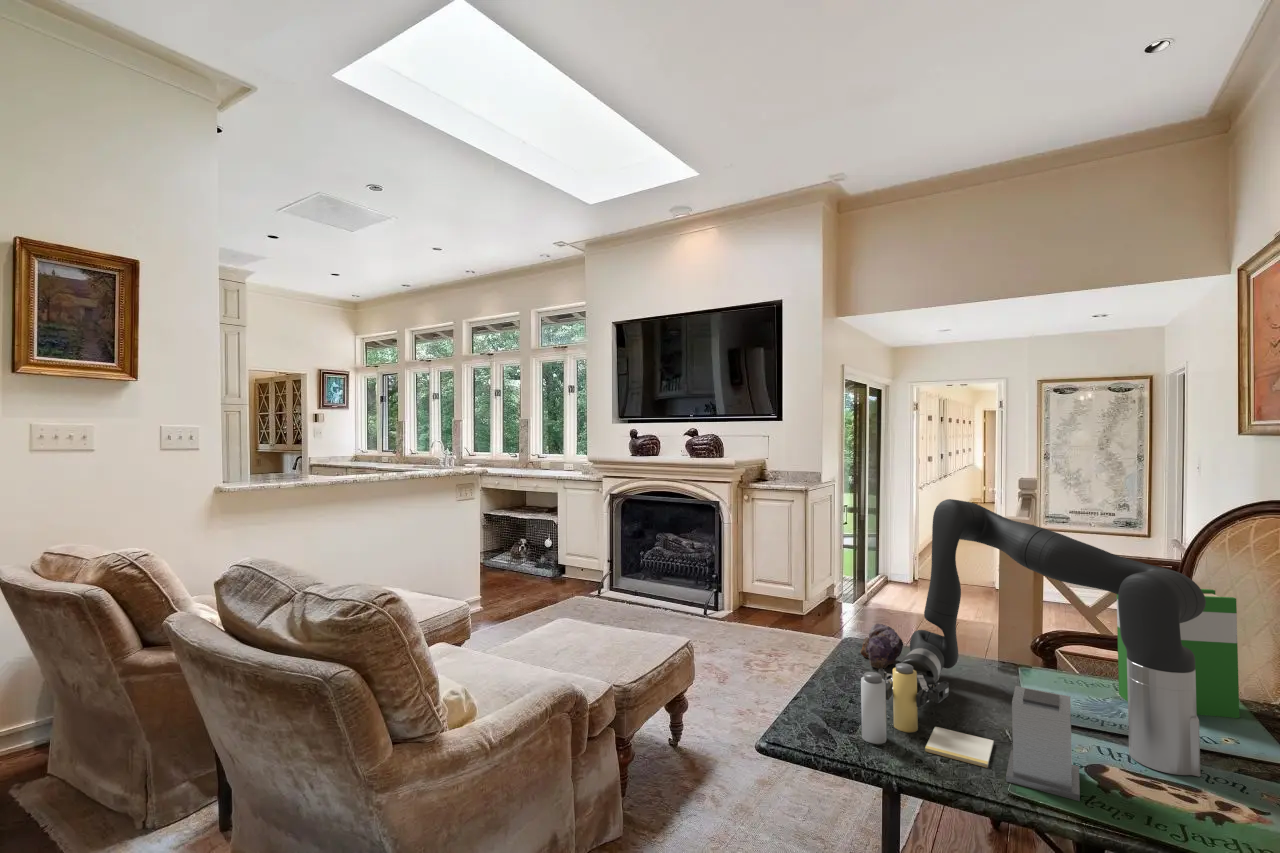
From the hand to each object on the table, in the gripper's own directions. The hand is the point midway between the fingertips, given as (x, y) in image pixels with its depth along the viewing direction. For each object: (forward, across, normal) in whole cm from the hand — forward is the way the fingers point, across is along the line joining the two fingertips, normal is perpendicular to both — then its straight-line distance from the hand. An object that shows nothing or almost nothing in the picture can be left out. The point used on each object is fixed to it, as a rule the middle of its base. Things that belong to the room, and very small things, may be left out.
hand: (902, 698), depth 120 cm
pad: (0, +10, +6) cm, 12 cm away
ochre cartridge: (-3, 0, +6) cm, 7 cm away
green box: (-44, +45, +7) cm, 63 cm away
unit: (+3, +23, +6) cm, 24 cm away
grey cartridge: (+5, -4, +6) cm, 9 cm away
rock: (-36, -12, +7) cm, 38 cm away
